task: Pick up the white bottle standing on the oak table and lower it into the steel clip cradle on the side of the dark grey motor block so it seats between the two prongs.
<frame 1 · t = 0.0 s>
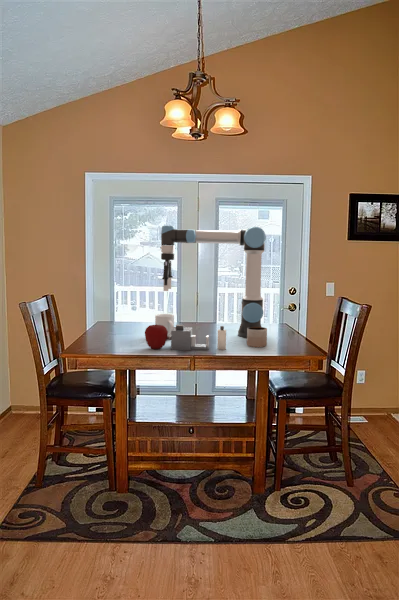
hand: (167, 289, 276), 28 cm above the table, fingers open, 13 cm apart
apple: (156, 349, 249), on the table, touching motor
motor: (181, 347, 252), on the table
planter: (256, 345, 261), on the table
mug: (165, 337, 280), on the table
white bottle: (221, 348, 251), on the table
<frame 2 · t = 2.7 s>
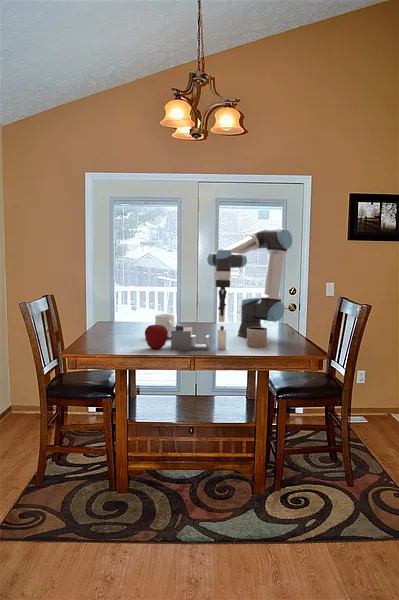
hand: (221, 320, 249), 15 cm above the table, fingers open, 13 cm apart
nothing on the table moved.
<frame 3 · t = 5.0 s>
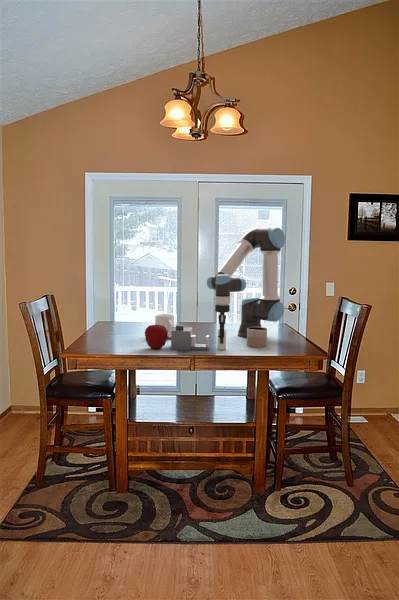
hand: (221, 348, 251), 0 cm above the table, fingers closed on white bottle, 4 cm apart
white bottle: (221, 348, 251), on the table, touching gripper
everything else where it was.
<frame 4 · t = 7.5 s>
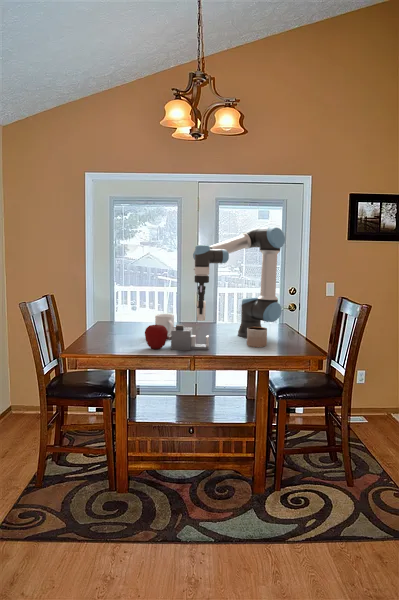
hand: (201, 319, 250), 15 cm above the table, fingers closed on white bottle, 4 cm apart
white bottle: (201, 320, 250), point 15 cm above the table, touching gripper
everything else where it was.
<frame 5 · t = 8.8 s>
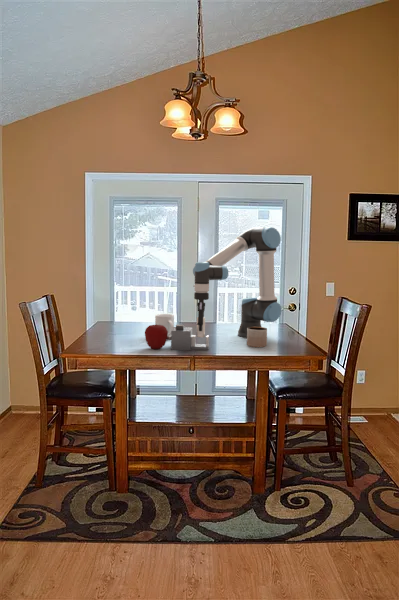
hand: (200, 336, 251), 7 cm above the table, fingers closed on white bottle, 4 cm apart
white bottle: (200, 336, 251), point 6 cm above the table, touching gripper
everything else where it was.
when the fingers open (4 cm above the table, at t = 10.1 s): white bottle drops 2 cm, resting on motor.
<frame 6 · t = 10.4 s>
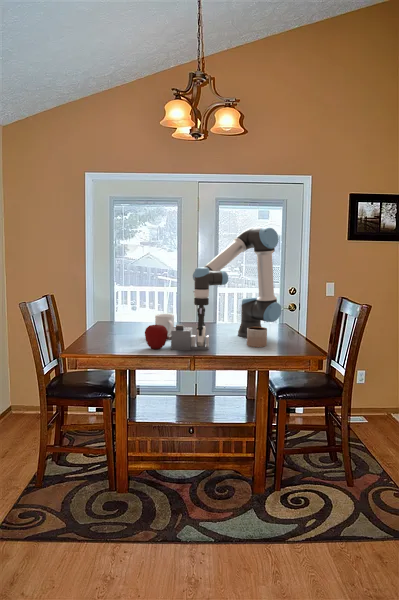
hand: (200, 339, 251), 4 cm above the table, fingers open, 9 cm apart
white bottle: (200, 345, 252), point 2 cm above the table, touching motor
everything else where it was.
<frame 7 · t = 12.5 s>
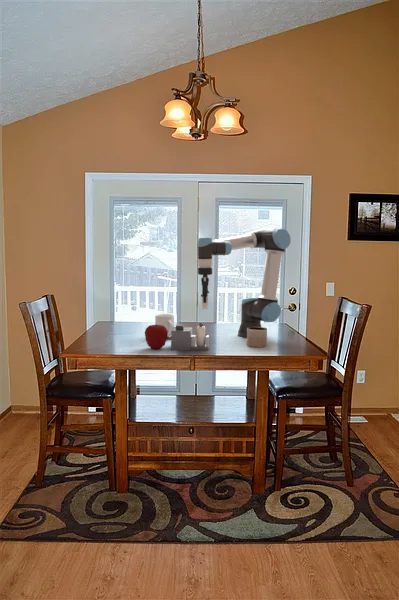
hand: (205, 307, 254), 21 cm above the table, fingers open, 13 cm apart
nothing on the table moved.
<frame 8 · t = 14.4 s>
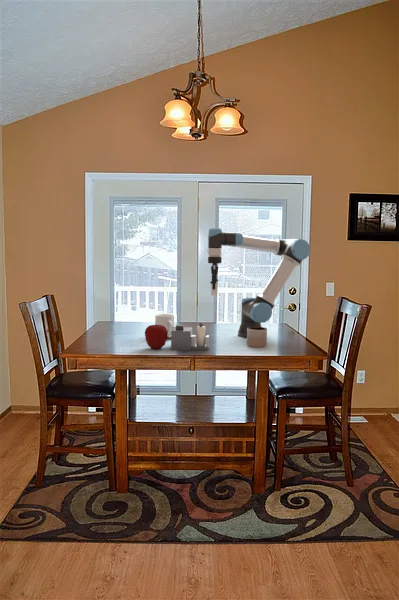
hand: (214, 294, 268), 27 cm above the table, fingers open, 13 cm apart
nothing on the table moved.
at the end: white bottle 0.0 cm from the target spot on the motor, point 1.5 cm above the motor's base; white bottle tilted 0°; the gripper is holding nothing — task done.
